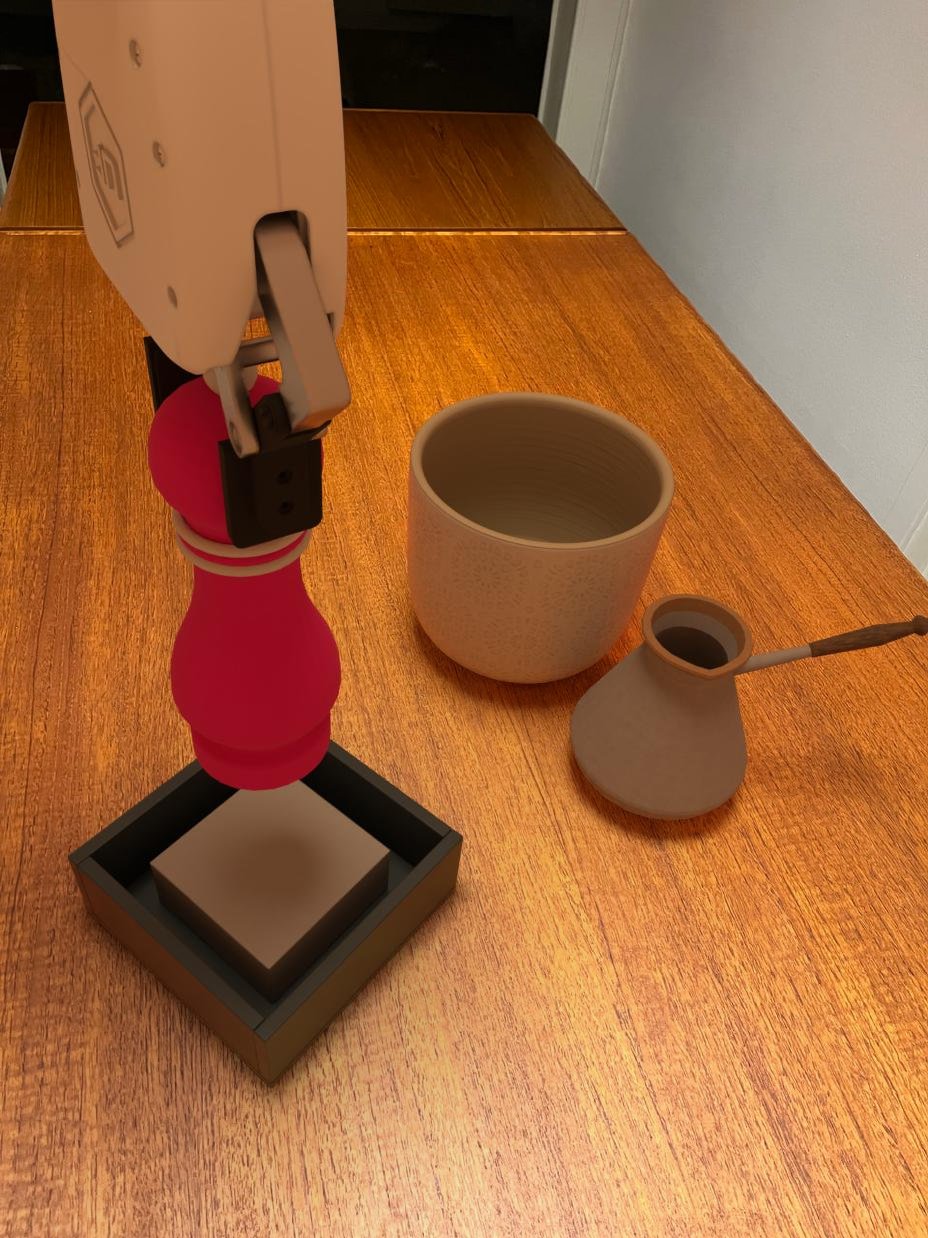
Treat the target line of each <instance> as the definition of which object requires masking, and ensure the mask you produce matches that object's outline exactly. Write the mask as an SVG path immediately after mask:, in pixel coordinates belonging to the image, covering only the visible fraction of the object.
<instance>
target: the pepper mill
mask: <svg viewBox="0 0 928 1238" xmlns="http://www.w3.org/2000/svg"><path fill="white" fill-rule="evenodd" d="M243 369H244V373H245V377H246V382H247V387H248V392H249V396H250V401H251V406H252V408H253V407H254V405H255V404H256V403H257V402H258V401H259V400H260V399H261V398H262V397H263V396H264V395H266V394H271V393H275V392H277V391H278V390H279V389H278V386H279V385H280V383H281V381H279V380H277V379H274V378H272V377H269V376H266V375H263V374H259V373H258V365H256V366H251V367H246V368H243ZM147 436H148V437H147V463H148V467H149V471H150V474H151V475H150V476H151V479H152V482H153V485H154V486H155V488H156V489H157V491H158V492H159V494H160V495H161V497H162V498H163V499H164V501H165V502H166V503H167V505H169V506H170V507H171V508H172V510H171V520H172V523H173V527H174V529H175V530H174V537H175V538H174V539H175V543H176V545H177V548H178V550H179V552H180V554H182V556H184V558H185V559H186V560H187V561H188V562H189V563H191V564H192V567H193V588H192V595H191V599H190V603H189V607H188V609H187V611H186V612H185V616H184V618H183V620H182V622H181V624H180V627H179V629H178V632H177V633H176V636H175V639H174V643H173V646H172V647H173V648H172V651H171V657H170V661H169V662H170V664H169V665H170V668H169V669H170V672H169V673H170V689H171V694H172V699H173V702H174V704H175V706H176V708H177V710H178V712H179V714H180V716H181V717H182V719H183V720H184V721H185V722H186V723H187V724H188V725H189V728H190V736H191V742H192V747H193V751H194V754H195V758H197V760H198V761H199V763H200V765H201V766H202V767H203V768H204V770H205V771H206V772H207V773H208V774H210V775H211V776H212V777H213V778H215V779H216V780H218V781H219V782H221V783H224V784H226V785H229V786H231V787H234V788H237V789H244V790H251V791H259V790H272V789H276V788H280V787H283V786H286V785H289V784H291V783H293V782H295V781H297V780H299V779H301V778H303V777H304V776H306V775H307V774H308V773H310V772H311V771H312V770H313V769H314V768H315V767H316V766H317V765H318V764H319V763H320V762H321V760H322V759H323V757H324V755H325V754H326V752H327V749H328V746H329V743H330V739H331V736H332V723H331V722H332V719H331V718H332V717H331V716H332V714H331V711H332V709H333V707H334V706H335V703H336V701H337V699H338V697H339V694H340V690H341V684H342V666H341V658H340V651H339V648H338V644H337V642H336V639H335V637H334V634H333V632H332V629H331V627H330V626H329V624H328V622H327V620H326V619H325V617H324V616H323V615H322V613H320V611H319V609H318V607H316V606H315V604H314V603H313V601H312V600H311V597H310V596H309V594H308V591H307V589H306V586H305V583H304V580H303V574H302V572H303V571H302V567H301V565H302V564H301V557H302V555H303V554H304V552H305V551H306V549H308V546H309V544H310V543H311V539H312V533H313V528H312V529H309V530H305V531H302V532H298V533H295V534H292V535H288V536H285V537H282V538H278V539H275V540H272V541H268V542H265V543H262V544H258V545H255V546H252V547H248V548H244V549H239V548H237V547H235V546H234V544H233V543H232V541H231V540H230V538H229V537H228V534H227V526H226V516H225V507H224V498H223V488H222V479H221V470H220V460H219V451H218V441H222V440H226V439H228V438H229V434H228V430H227V425H226V421H225V417H224V412H223V408H222V403H221V399H220V394H219V390H218V385H217V381H216V376H215V372H214V368H209V371H208V373H205V374H203V376H201V377H199V378H196V379H194V380H192V381H190V382H188V383H185V384H183V385H181V386H180V387H179V388H178V389H177V390H176V391H174V392H173V393H172V394H171V395H170V396H169V397H168V398H166V399H165V400H164V402H163V403H162V405H161V406H160V407H159V409H158V410H157V412H156V414H155V413H154V416H153V419H152V421H151V424H150V430H149V433H148V435H147ZM321 452H322V473H323V472H324V463H325V462H324V461H325V453H324V452H325V451H324V445H323V438H321Z"/></svg>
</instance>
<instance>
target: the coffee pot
mask: <svg viewBox="0 0 928 1238" xmlns="http://www.w3.org/2000/svg"><path fill="white" fill-rule="evenodd" d="M640 623H641V624H640V625H641V635H642V636H643V639H644V640H643V641H642V642H641V643H640V644H639V645H638V646H637V647H635V648H634V649H633V650H632V651H631V652H630V653H628V654H627V655H626V656H625V657H624V658H622V660H621V661H619V662H618V663H617V664H615V666H614V667H612V668H611V669H610V670H609V671H607V672H606V673H605V674H604V675H603V676H601V678H599V679H598V680H597V681H596V682H595V683H594V684H593V685H591V686H590V687H589V688H588V689H587V690H586V691H585V693H584V694H582V696H581V697H580V699H578V701H577V703H576V704H575V707H574V709H573V712H572V715H571V717H570V720H569V722H570V723H569V741H570V745H571V749H572V751H573V755H574V758H575V761H576V764H577V765H578V767H579V769H580V770H581V772H582V774H583V775H584V777H585V778H586V780H587V781H588V783H589V784H590V785H591V786H592V787H593V788H594V789H595V790H596V791H597V792H598V793H599V794H601V796H602V797H604V799H606V800H608V801H610V802H611V803H612V804H614V805H616V806H618V807H619V808H621V809H623V810H624V811H627V812H630V813H633V814H635V815H639V816H641V817H644V818H648V819H653V820H654V819H655V820H663V821H670V822H671V821H678V820H679V821H680V820H690V819H691V820H692V819H693V818H696V817H699V816H702V815H705V814H707V813H710V812H712V811H714V810H716V809H718V808H720V806H722V805H724V804H725V803H726V802H727V801H729V800H730V799H731V798H733V796H735V794H736V792H737V791H738V789H739V788H740V786H741V785H742V783H743V781H744V780H745V777H746V772H747V766H748V761H749V755H748V749H747V743H746V742H747V741H746V736H745V730H744V725H743V724H744V723H743V718H742V712H741V707H740V702H739V696H738V690H737V685H736V679H735V677H736V676H741V675H744V674H749V673H752V672H756V671H760V670H763V669H768V668H773V667H776V666H780V665H785V664H789V663H793V662H796V661H800V660H804V659H807V658H820V657H824V656H830V655H835V654H843V653H847V652H854V651H859V650H865V649H871V648H876V647H882V646H884V645H887V644H889V643H892V642H894V641H895V642H896V641H897V640H900V639H903V638H906V637H908V636H911V635H913V634H915V635H917V636H920V637H924V636H926V635H927V634H928V617H926V616H923V615H921V614H917V615H916V616H913V618H912V619H911V621H909V620H908V621H898V622H890V623H889V622H888V623H876V624H872V625H869V626H865V627H862V628H858V629H854V630H851V631H848V632H847V631H846V632H844V633H841V634H837V635H833V636H829V637H825V638H822V639H819V640H815V641H813V642H808V644H804V645H799V646H795V647H790V648H784V649H779V650H773V651H770V652H764V653H760V654H755V655H752V654H753V650H754V639H753V634H752V631H751V629H750V627H749V625H748V624H747V622H746V621H745V620H744V619H743V617H741V615H740V614H739V613H738V612H736V611H735V610H734V609H733V608H731V607H730V606H728V605H726V604H725V603H723V602H721V601H718V600H716V599H715V598H711V597H708V596H705V595H702V594H695V593H688V592H687V593H672V594H668V595H666V596H665V595H664V596H662V597H660V598H658V599H657V600H655V601H653V602H651V604H650V605H649V606H648V607H647V608H646V609H645V610H644V612H643V615H642V618H641V622H640Z"/></svg>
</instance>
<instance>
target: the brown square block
mask: <svg viewBox="0 0 928 1238" xmlns="http://www.w3.org/2000/svg"><path fill="white" fill-rule="evenodd" d="M389 862H390V850H389V849H388V848H387V847H385V846H384V845H383V844H381V843H380V842H379V841H377V840H376V839H375V838H374V837H372V836H371V835H370V834H368V833H367V832H366V831H364V830H363V829H362V828H361V827H359V826H358V825H357V824H355V823H354V822H353V821H352V820H350V819H349V818H348V817H346V816H345V815H344V814H342V813H341V812H340V811H339V810H337V809H336V808H335V807H333V806H332V805H331V804H329V803H328V802H327V801H326V800H324V799H323V798H322V797H320V796H319V795H318V794H317V793H315V792H314V791H313V790H311V789H310V788H309V787H307V786H306V785H305V784H304V783H302V782H301V781H300V780H297V781H295V782H293V783H291V784H289V785H286V786H283V787H280V788H276V789H272V790H259V791H251V790H244V789H240V790H239V791H238V792H237V793H235V794H234V795H233V796H232V797H230V798H229V799H228V800H227V801H225V802H224V803H223V804H222V805H220V806H219V807H218V808H217V809H216V810H214V811H213V812H212V813H211V814H209V815H208V816H207V817H206V818H204V819H203V820H202V821H201V822H199V823H198V824H197V825H196V826H195V827H193V828H192V829H191V830H190V831H188V832H187V833H186V834H185V835H183V836H182V837H181V838H180V839H178V840H177V841H176V842H175V843H174V844H172V845H171V846H170V847H169V848H167V849H166V850H165V851H164V852H162V853H161V854H160V855H159V856H158V857H156V858H155V859H154V860H153V861H151V862H150V865H151V869H152V873H153V877H154V881H155V885H156V888H157V892H158V896H159V900H160V902H161V903H162V904H163V905H164V906H166V907H167V908H168V909H169V910H170V911H171V912H172V913H173V914H174V915H175V916H177V917H178V918H179V919H180V920H181V921H182V922H183V923H184V924H185V925H186V926H187V927H189V928H190V929H191V930H192V931H193V932H194V933H195V934H196V935H197V936H198V937H199V938H201V939H202V940H203V941H204V942H205V943H206V944H207V945H208V946H209V947H210V948H212V949H213V950H214V951H215V952H216V953H217V954H218V955H219V956H220V957H221V958H222V959H224V960H225V961H226V962H227V963H228V964H229V965H230V966H231V967H232V968H233V969H234V970H236V971H237V972H238V973H239V974H240V975H241V976H242V977H243V978H244V979H245V980H246V981H248V982H249V983H250V984H251V985H252V986H253V987H254V988H255V989H256V990H257V991H259V992H260V993H261V994H262V995H263V996H264V997H265V998H266V999H267V1000H268V1001H269V1002H271V1003H272V1004H274V1003H275V1002H276V1001H277V1000H278V999H279V998H280V997H281V996H282V995H283V994H284V993H285V992H286V991H287V990H288V989H289V988H290V987H291V985H292V984H293V983H294V982H295V981H296V980H297V979H298V978H299V977H300V976H301V975H302V974H303V973H304V972H305V971H306V970H307V969H308V968H309V967H310V966H311V965H312V964H313V963H314V962H315V961H316V960H317V959H318V958H319V957H320V956H321V955H322V954H323V953H324V952H325V951H326V950H327V949H328V948H329V947H330V946H331V945H332V944H333V943H334V942H335V941H336V940H337V939H338V938H339V937H340V936H341V935H342V934H343V933H344V932H345V931H346V930H347V929H348V928H349V927H350V926H351V925H352V924H353V923H354V922H355V921H356V920H357V919H358V918H359V917H360V916H361V915H362V914H363V913H364V912H365V911H366V910H367V909H368V908H369V907H370V906H371V905H372V904H373V903H374V902H375V901H376V900H377V899H378V898H379V897H380V896H381V894H382V893H383V892H384V891H385V890H386V889H387V888H388V878H389Z"/></svg>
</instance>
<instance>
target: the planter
mask: <svg viewBox="0 0 928 1238" xmlns="http://www.w3.org/2000/svg"><path fill="white" fill-rule="evenodd" d="M674 475H675V474H674V471H673V468H672V465H671V463H670V461H669V459H668V457H667V455H666V454H665V452H664V451H663V450H662V448H661V447H660V446H659V444H657V442H656V441H655V440H654V439H653V438H652V437H651V436H650V435H649V434H648V433H646V432H645V431H644V430H642V428H640V427H639V426H637V425H636V424H634V423H633V422H631V421H630V420H628V419H627V418H625V417H623V416H621V415H620V414H617V413H615V412H614V411H611V410H609V409H606V408H604V407H602V406H599V405H597V404H594V403H591V402H587V401H585V400H581V399H578V398H575V397H570V396H565V395H560V394H555V393H547V392H537V391H503V392H502V391H501V392H492V393H486V394H485V393H484V394H481V395H476V396H472V397H468V398H465V399H462V400H459V401H456V402H454V403H452V404H450V405H448V406H445V407H444V408H442V409H440V410H439V411H437V412H436V413H434V414H433V415H432V416H430V417H429V418H428V419H427V420H426V421H425V422H424V423H423V424H422V425H421V426H420V427H419V429H418V431H417V432H416V434H415V435H414V438H413V440H412V441H411V446H410V451H409V463H408V482H407V483H408V484H407V485H408V486H407V525H406V526H407V527H406V528H407V530H406V564H407V567H406V569H407V578H408V579H407V580H408V587H409V594H410V597H411V598H410V600H411V603H412V607H413V609H414V612H415V615H416V618H417V620H418V622H419V624H420V626H421V627H422V629H423V631H424V632H425V634H426V635H427V637H428V638H429V640H431V642H432V643H433V644H434V645H435V646H436V647H437V648H438V649H439V650H440V651H441V652H442V653H443V654H444V655H446V657H448V658H450V660H452V661H454V662H455V663H457V664H458V665H459V666H462V667H463V668H465V669H467V670H469V671H471V672H473V673H475V674H478V675H480V676H482V677H486V678H489V679H492V680H496V681H501V682H505V683H506V682H507V683H513V684H541V683H543V684H544V683H549V682H555V681H558V680H564V679H567V678H570V677H572V676H575V675H577V674H579V673H581V672H583V671H585V670H587V669H589V668H590V667H592V666H593V665H595V664H596V663H598V662H599V661H600V660H601V659H603V658H604V657H605V656H606V655H607V654H608V653H609V652H611V650H612V649H613V648H614V647H615V646H616V644H618V642H619V640H620V639H621V637H622V636H623V635H624V633H625V631H626V630H627V627H628V625H629V623H630V621H631V620H632V618H633V615H634V614H635V611H636V609H637V606H638V604H639V601H640V599H641V597H642V594H643V591H644V589H645V586H646V583H647V580H648V578H649V575H650V571H651V568H652V565H653V562H654V559H655V555H656V554H657V550H658V547H659V545H660V541H661V539H662V535H663V532H664V530H665V527H666V523H667V521H668V518H669V515H670V511H671V507H672V504H673V500H674V497H675V496H674V495H675V488H676V481H675V476H674Z"/></svg>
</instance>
